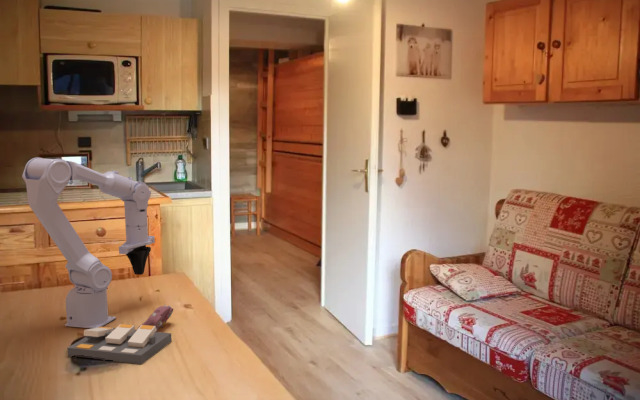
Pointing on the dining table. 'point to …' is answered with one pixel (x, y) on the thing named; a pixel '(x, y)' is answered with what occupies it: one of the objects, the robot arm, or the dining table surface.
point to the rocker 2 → (120, 334)
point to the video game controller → (159, 317)
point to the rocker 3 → (142, 336)
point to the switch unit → (120, 348)
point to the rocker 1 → (97, 331)
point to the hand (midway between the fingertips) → (139, 274)
